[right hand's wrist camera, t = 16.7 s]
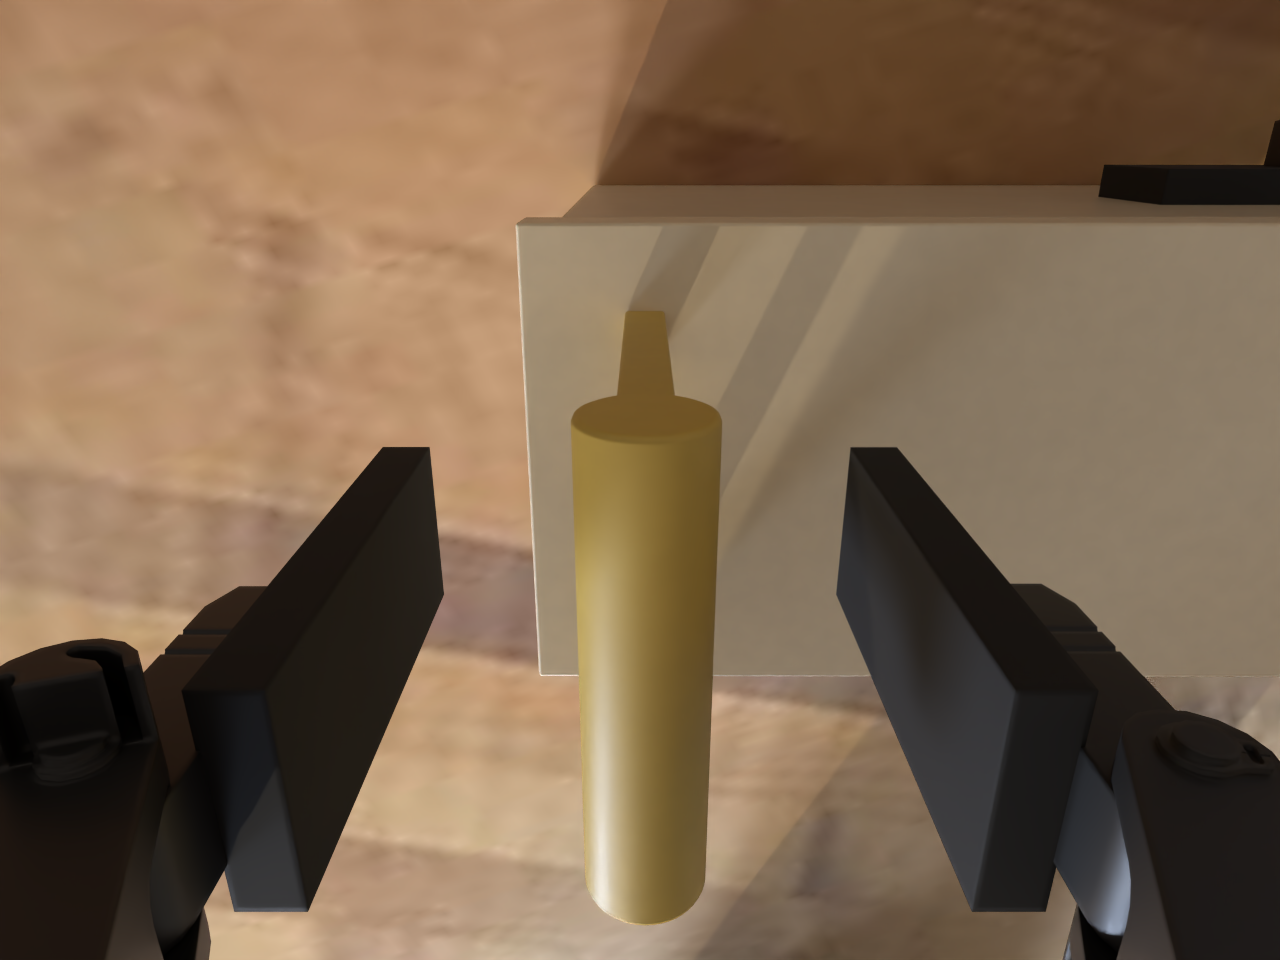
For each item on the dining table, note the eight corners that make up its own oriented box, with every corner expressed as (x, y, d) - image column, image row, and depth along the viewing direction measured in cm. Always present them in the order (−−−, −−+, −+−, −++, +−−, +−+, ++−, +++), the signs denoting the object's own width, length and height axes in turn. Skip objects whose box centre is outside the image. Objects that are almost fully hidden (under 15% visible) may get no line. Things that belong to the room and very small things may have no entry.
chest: (597, 468, 29) (574, 647, 19) (592, 185, 26) (559, 216, 16) (1056, 469, 29) (1279, 647, 19) (1112, 185, 26) (1421, 216, 16)
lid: (544, 648, 19) (476, 1002, 11) (523, 217, 16) (403, 297, 8) (1281, 649, 19) (1726, 1005, 11) (1424, 217, 15) (2209, 298, 8)
